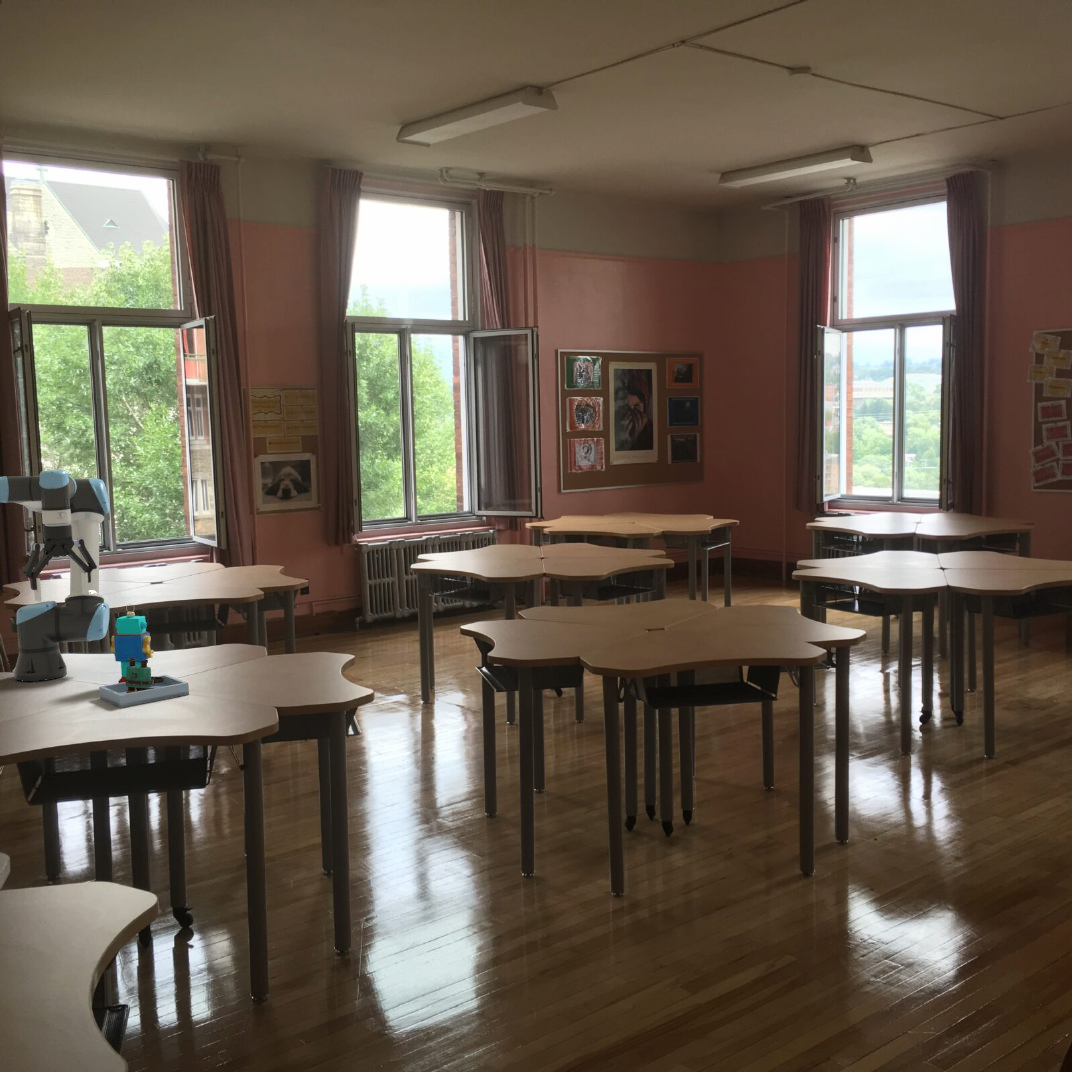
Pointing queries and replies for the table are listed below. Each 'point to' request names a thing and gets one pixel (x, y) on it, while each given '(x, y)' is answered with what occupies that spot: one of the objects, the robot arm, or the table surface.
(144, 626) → the toy robot
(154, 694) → the light blue rectangular tray
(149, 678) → the binoculars
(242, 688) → the table surface
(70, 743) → the table surface
